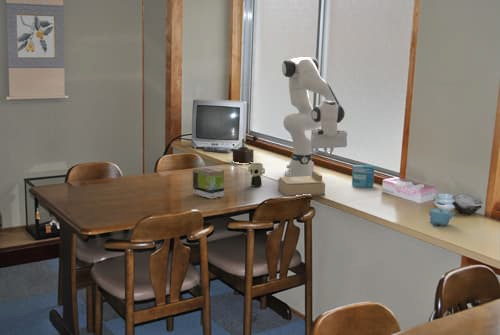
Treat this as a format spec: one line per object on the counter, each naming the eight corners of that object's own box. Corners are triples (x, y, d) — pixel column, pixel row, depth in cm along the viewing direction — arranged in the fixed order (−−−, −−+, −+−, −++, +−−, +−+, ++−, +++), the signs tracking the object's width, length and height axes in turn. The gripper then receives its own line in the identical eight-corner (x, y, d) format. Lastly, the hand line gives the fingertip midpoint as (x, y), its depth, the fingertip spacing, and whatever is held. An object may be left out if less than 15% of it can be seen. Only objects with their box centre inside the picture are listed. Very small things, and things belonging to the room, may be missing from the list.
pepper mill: (245, 165, 426) (245, 138, 423) (232, 163, 433) (232, 137, 429) (259, 162, 439) (259, 135, 435) (246, 160, 445) (246, 134, 441)
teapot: (456, 225, 295) (457, 209, 294) (453, 228, 290) (454, 212, 288) (430, 221, 301) (431, 205, 300) (426, 224, 296) (427, 208, 294)
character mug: (244, 186, 368) (245, 164, 365) (251, 184, 374) (251, 162, 371) (261, 188, 362) (261, 166, 360) (267, 186, 368) (267, 164, 366)
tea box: (224, 197, 343) (224, 170, 340) (209, 200, 337) (209, 172, 334) (207, 192, 354) (207, 165, 351) (192, 194, 348) (192, 168, 345)
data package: (351, 186, 369) (352, 166, 366) (352, 185, 373) (353, 164, 371) (373, 187, 366) (374, 167, 364) (373, 186, 371) (374, 165, 368)
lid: (279, 178, 358) (279, 171, 357) (315, 176, 362) (315, 170, 361) (286, 184, 343) (286, 177, 342) (324, 182, 347) (324, 176, 347)
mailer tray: (278, 190, 359) (278, 178, 358) (316, 188, 364) (316, 177, 362) (285, 196, 344) (285, 185, 343) (324, 195, 349) (325, 183, 348)
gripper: (345, 129, 355) (344, 154, 358) (309, 130, 351) (309, 155, 354) (349, 130, 349) (348, 156, 352) (313, 132, 345) (312, 157, 348)
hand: (328, 155), depth 353 cm, fingers closed
